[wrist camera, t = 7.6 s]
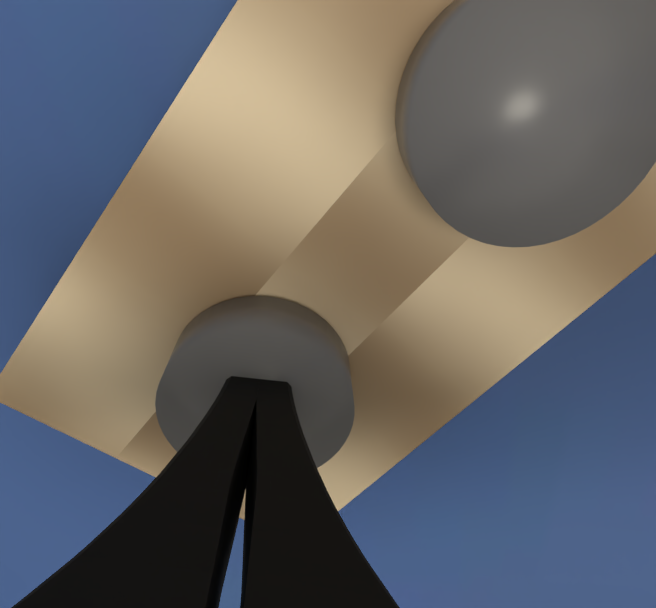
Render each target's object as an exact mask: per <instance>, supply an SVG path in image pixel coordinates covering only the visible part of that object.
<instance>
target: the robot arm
mask: <svg viewBox="0 0 656 608" xmlns="http://www.w3.org/2000/svg"><path fill="white" fill-rule="evenodd" d="M245 490H246V495H245V520H244V544H243V569H242V593H241V606H240V608H399V606H398V605H397V604H396V602H395V601H394V599H393V598H392V596H391V595H390V593H389V592H388V590H387V589H386V588H385V586H384V585H383V583H382V582H381V580H380V579H379V577H378V576H377V575H376V573H375V572H374V570H373V569H372V567H371V566H370V564H369V563H368V561H367V560H366V558H365V557H364V555H363V554H362V552H361V550H360V549H359V547H358V545H357V544H356V542H355V541H354V539H353V537H352V536H351V534H350V532H349V531H348V529H347V527H346V525H345V523H344V522H343V520H342V518H341V516H340V514H339V513H338V511H337V509H336V507H335V505H334V503H333V501H332V499H331V497H330V495H329V493H328V491H327V489H326V487H325V485H324V482H323V480H322V478H321V476H320V474H319V472H318V469H317V467H316V465H315V462H314V460H313V457H312V455H311V452H310V450H309V447H308V444H307V442H306V439H305V437H304V434H303V431H302V428H301V425H300V421H299V418H298V415H297V411H296V407H295V403H294V399H293V394H292V387H291V385H290V384H289V383H288V382H283V381H274V380H264V379H255V378H246V377H237V376H231V377H229V378H228V379H226V381H225V383H224V385H223V387H222V389H221V391H220V393H219V394H218V396H217V398H216V399H215V401H214V403H213V404H212V406H211V407H210V409H209V410H208V412H207V413H206V415H205V416H204V418H203V419H202V421H201V422H200V423H199V425H198V426H197V427H196V429H195V430H194V432H193V433H192V434H191V436H190V437H189V438H188V440H187V441H186V442H185V444H184V445H183V446H182V447H181V449H180V450H179V451H178V452H177V453H176V455H175V456H174V457H173V458H172V459H171V461H170V462H169V463H168V464H167V465H166V467H165V468H164V469H163V470H162V471H161V473H160V474H159V475H158V476H157V477H156V478H155V479H154V480H153V481H152V483H151V484H150V485H149V486H148V487H147V488H146V489H145V490H144V491H143V492H142V493H141V494H140V495H139V496H138V497H137V498H136V499H135V500H134V501H133V502H132V504H131V505H130V506H129V507H128V508H127V509H126V510H125V511H124V512H123V513H122V514H121V515H119V516H118V517H117V518H116V519H115V520H114V521H113V522H112V523H111V524H110V525H109V526H108V527H107V528H106V529H105V530H103V531H102V532H101V533H100V534H99V535H98V536H97V537H96V538H95V539H94V540H93V541H92V542H91V543H89V544H88V545H87V546H86V547H85V548H84V549H83V550H82V551H80V552H79V553H78V554H77V555H76V556H75V557H73V558H72V559H71V560H70V561H69V562H67V563H66V564H65V565H64V566H63V567H61V568H60V569H59V570H58V571H56V572H55V573H54V574H53V575H51V576H50V577H49V578H48V579H47V580H45V581H44V582H43V583H42V584H40V585H39V586H38V587H37V588H35V589H34V590H33V591H32V592H31V593H29V594H28V595H27V596H26V597H24V598H23V599H22V600H21V601H19V602H18V603H17V604H15V605H14V606H13V607H12V608H218V607H219V602H220V597H221V592H222V587H223V583H224V579H225V575H226V570H227V566H228V562H229V558H230V553H231V549H232V545H233V541H234V537H235V532H236V528H237V524H238V520H239V515H240V511H241V507H242V503H243V498H244V494H245Z"/></svg>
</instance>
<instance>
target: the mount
mask: <svg viewBox="0 0 656 608" xmlns="http://www.w3.org/2000/svg"><path fill="white" fill-rule="evenodd" d="M454 1H455V0H238V1H237V2H236V4H235V6H234V7H233V9H232V10H231V12H230V13H229V15H228V17H227V18H226V20H225V21H224V23H223V24H222V26H221V28H220V29H219V31H218V32H217V34H216V35H215V37H214V39H213V40H212V42H211V43H210V45H209V46H208V48H207V50H206V51H205V53H204V54H203V56H202V57H201V59H200V61H199V62H198V64H197V65H196V67H195V68H194V70H193V72H192V73H191V75H190V76H189V78H188V80H187V81H186V83H185V84H184V86H183V87H182V89H181V91H180V92H179V94H178V95H177V97H176V98H175V100H174V102H173V103H172V105H171V106H170V108H169V109H168V111H167V113H166V114H165V116H164V117H163V119H162V120H161V122H160V124H159V125H158V127H157V128H156V130H155V131H154V133H153V135H152V136H151V138H150V139H149V141H148V142H147V144H146V146H145V147H144V149H143V150H142V152H141V154H140V155H139V157H138V158H137V160H136V161H135V163H134V165H133V166H132V168H131V169H130V171H129V172H128V174H127V176H126V177H125V179H124V180H123V182H122V183H121V185H120V187H119V188H118V190H117V191H116V193H115V194H114V196H113V198H112V199H111V201H110V202H109V204H108V205H107V207H106V209H105V210H104V212H103V213H102V215H101V216H100V218H99V220H98V221H97V223H96V224H95V226H94V228H93V229H92V231H91V232H90V234H89V235H88V237H87V239H86V240H85V242H84V243H83V245H82V246H81V248H80V250H79V251H78V253H77V254H76V256H75V257H74V259H73V261H72V262H71V264H70V265H69V267H68V268H67V270H66V272H65V273H64V275H63V276H62V278H61V279H60V281H59V283H58V284H57V286H56V287H55V289H54V290H53V292H52V294H51V295H50V297H49V298H48V300H47V302H46V303H45V305H44V306H43V308H42V309H41V311H40V313H39V314H38V316H37V317H36V319H35V320H34V322H33V324H32V325H31V327H30V328H29V330H28V331H27V333H26V335H25V336H24V338H23V339H22V341H21V342H20V344H19V346H18V347H17V349H16V350H15V352H14V353H13V355H12V357H11V358H10V360H9V361H8V363H7V364H6V366H5V368H4V369H3V371H2V372H1V374H0V403H3V404H5V405H7V406H9V407H11V408H13V409H15V410H17V411H19V412H21V413H23V414H25V415H27V416H30V417H32V418H34V419H36V420H38V421H40V422H42V423H44V424H46V425H48V426H50V427H52V428H54V429H57V430H59V431H61V432H63V433H65V434H67V435H69V436H71V437H73V438H75V439H77V440H79V441H81V442H84V443H86V444H88V445H90V446H92V447H94V448H96V449H98V450H100V451H102V452H104V453H106V454H108V455H111V456H113V457H115V458H117V459H119V460H121V461H123V462H125V463H127V464H129V465H131V466H133V467H135V468H138V469H140V470H142V471H144V472H146V473H148V474H150V475H152V476H154V477H157V476H158V475H159V474H160V473H161V471H162V470H163V469H164V468H165V467H166V465H167V464H168V463H169V462H170V461H171V459H172V458H173V457H174V456H175V455H176V453H177V451H176V450H175V449H174V448H173V447H172V446H171V444H170V443H169V442H168V440H167V439H166V437H165V436H164V434H163V432H162V430H161V428H160V426H159V423H158V419H157V415H156V407H155V400H156V392H157V388H158V385H159V382H160V380H161V377H162V375H163V373H164V371H165V368H166V366H167V364H168V361H169V359H170V357H171V354H172V352H173V350H174V347H175V345H176V343H177V341H178V339H179V337H180V335H181V333H182V332H183V330H184V329H185V327H186V326H187V325H188V324H189V323H190V322H191V321H192V320H193V319H194V318H195V317H196V316H198V315H199V314H200V313H201V312H203V311H205V310H206V309H208V308H210V307H211V306H214V305H216V304H218V303H221V302H223V301H227V300H231V299H234V298H240V297H247V296H266V297H275V298H280V299H285V300H288V301H291V302H295V303H297V304H300V305H302V306H304V307H306V308H308V309H310V310H312V311H313V312H315V313H316V314H318V315H319V316H321V317H322V318H323V319H324V320H326V321H327V322H328V323H329V324H330V325H331V326H332V327H333V329H334V330H335V331H336V332H337V334H338V335H339V337H340V338H341V340H342V342H343V344H344V346H345V348H346V351H347V354H348V358H349V364H350V372H351V381H352V389H353V397H354V406H355V413H354V421H353V426H352V429H351V432H350V434H349V436H348V438H347V440H346V442H345V443H344V445H343V446H342V447H341V449H340V450H339V451H338V452H337V453H336V454H335V455H334V456H333V457H332V458H331V459H330V460H329V461H327V462H326V463H325V464H323V465H322V466H320V467H318V468H317V469H318V472H319V474H320V476H321V478H322V480H323V482H324V485H325V487H326V489H327V491H328V493H329V495H330V497H331V499H332V501H333V503H334V505H335V507H336V509H337V511H339V510H340V509H341V508H343V507H344V506H345V505H346V504H347V503H349V502H350V501H351V500H352V499H354V498H355V497H356V496H357V495H359V494H360V493H361V492H362V491H363V490H365V489H366V488H367V487H368V486H370V485H371V484H372V483H373V482H375V481H376V480H377V479H378V478H380V477H381V476H382V475H383V474H384V473H386V472H387V471H388V470H389V469H391V468H392V467H393V466H394V465H396V464H397V463H398V462H399V461H400V460H402V459H403V458H404V457H405V456H407V455H408V454H409V453H410V452H412V451H413V450H414V449H415V448H416V447H418V446H419V445H420V444H421V443H423V442H424V441H425V440H426V439H428V438H429V437H430V436H431V435H432V434H434V433H435V432H436V431H437V430H439V429H440V428H441V427H442V426H444V425H445V424H446V423H447V422H449V421H450V420H451V419H452V418H453V417H455V416H456V415H457V414H458V413H460V412H461V411H462V410H463V409H465V408H466V407H467V406H468V405H469V404H471V403H472V402H473V401H474V400H476V399H477V398H478V397H479V396H481V395H482V394H483V393H484V392H485V391H487V390H488V389H489V388H490V387H492V386H493V385H494V384H495V383H497V382H498V381H499V380H500V379H502V378H503V377H504V376H505V375H506V374H508V373H509V372H510V371H511V370H513V369H514V368H515V367H516V366H518V365H519V364H520V363H521V362H522V361H524V360H525V359H526V358H527V357H529V356H530V355H531V354H532V353H534V352H535V351H536V350H537V349H538V348H540V347H541V346H542V345H543V344H545V343H546V342H547V341H548V340H550V339H551V338H552V337H553V336H554V335H556V334H557V333H558V332H559V331H561V330H562V329H563V328H564V327H566V326H567V325H568V324H569V323H571V322H572V321H573V320H574V319H575V318H577V317H578V316H579V315H580V314H582V313H583V312H584V311H585V310H587V309H588V308H589V307H590V306H591V305H593V304H594V303H595V302H596V301H598V300H599V299H600V298H601V297H603V296H604V295H605V294H606V293H607V292H609V291H610V290H611V289H612V288H614V287H615V286H616V285H617V284H619V283H620V282H621V281H622V280H623V279H625V278H626V277H627V276H628V275H630V274H631V273H632V272H633V271H635V270H636V269H637V268H638V267H640V266H641V265H642V264H643V263H644V262H646V261H647V260H648V259H649V258H651V257H652V256H653V255H654V254H656V162H655V164H654V165H653V167H652V168H651V169H650V171H649V172H648V174H647V175H646V177H645V178H644V179H643V180H642V182H641V183H640V184H639V185H638V186H637V187H636V189H635V190H634V191H633V192H632V193H631V194H630V195H629V196H628V197H627V198H626V199H625V200H624V201H623V202H622V203H621V204H620V205H619V206H618V207H616V208H615V209H614V210H612V211H611V212H610V213H609V214H607V215H606V216H605V217H603V218H602V219H600V220H599V221H597V222H596V223H594V224H593V225H591V226H590V227H588V228H586V229H584V230H582V231H580V232H578V233H576V234H574V235H571V236H569V237H566V238H564V239H561V240H558V241H555V242H551V243H547V244H544V245H537V246H531V247H502V246H495V245H490V244H486V243H482V242H480V241H477V240H474V239H472V238H469V237H467V236H466V235H464V234H462V233H460V232H458V231H457V230H455V229H454V228H453V227H451V226H450V225H449V224H447V223H446V222H445V221H444V220H443V219H442V218H441V217H440V216H439V215H438V214H437V213H436V212H435V210H434V209H433V208H432V206H431V205H430V204H429V202H428V201H427V199H426V198H425V197H424V195H423V194H422V192H421V191H420V189H419V188H418V187H417V185H416V184H415V182H414V181H413V180H412V178H411V177H410V175H409V173H408V171H407V169H406V167H405V165H404V162H403V160H402V157H401V154H400V151H399V146H398V142H397V137H396V125H395V115H396V102H397V96H398V90H399V86H400V82H401V79H402V76H403V72H404V70H405V67H406V65H407V63H408V60H409V58H410V55H411V54H412V52H413V50H414V48H415V46H416V45H417V43H418V41H419V39H420V38H421V37H422V35H423V34H424V32H425V31H426V30H427V28H428V27H429V25H430V24H431V23H432V22H433V21H434V20H435V19H436V18H437V17H438V15H439V14H440V13H441V12H442V11H443V10H444V9H445V8H447V7H448V6H449V5H450V4H451V3H452V2H454ZM245 495H246V490H245V494H244V498H243V503H242V507H241V511H240V515H239V518H241V519H243V520H245Z"/></svg>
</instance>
